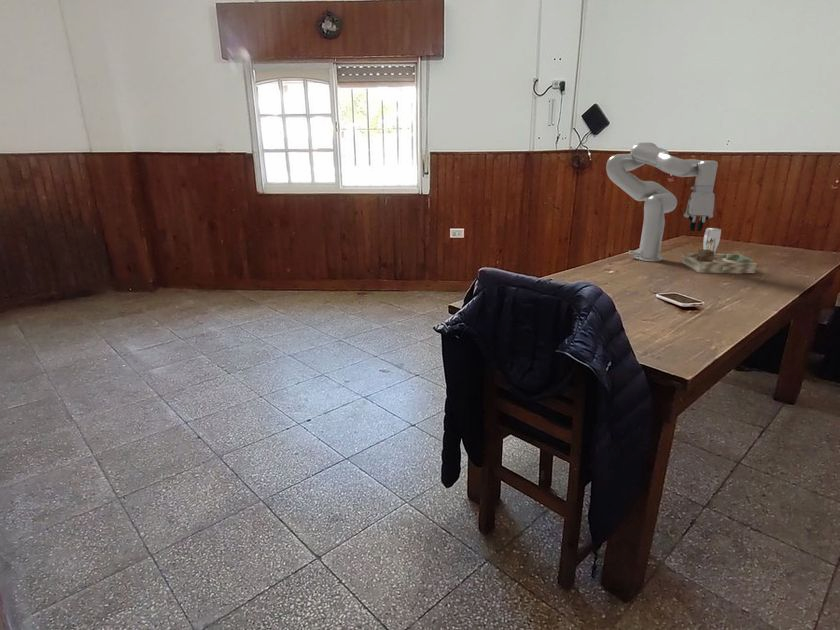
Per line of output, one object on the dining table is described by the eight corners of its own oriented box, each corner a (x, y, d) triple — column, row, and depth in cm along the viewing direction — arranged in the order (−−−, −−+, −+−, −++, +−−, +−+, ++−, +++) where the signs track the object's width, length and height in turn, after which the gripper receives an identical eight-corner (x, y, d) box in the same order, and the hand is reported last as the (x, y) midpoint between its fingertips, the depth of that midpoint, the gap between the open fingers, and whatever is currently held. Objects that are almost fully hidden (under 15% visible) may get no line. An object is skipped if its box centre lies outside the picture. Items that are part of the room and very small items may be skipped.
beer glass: (718, 260, 248) (724, 230, 243) (704, 260, 248) (710, 230, 243) (711, 257, 255) (717, 227, 250) (697, 257, 255) (702, 227, 250)
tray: (698, 272, 226) (700, 260, 224) (681, 262, 244) (683, 251, 242) (754, 273, 224) (757, 261, 222) (733, 263, 242) (736, 252, 240)
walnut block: (701, 262, 231) (703, 251, 230) (696, 259, 236) (698, 249, 234) (712, 262, 231) (714, 251, 229) (707, 260, 236) (709, 249, 234)
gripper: (687, 190, 220) (680, 231, 227) (726, 190, 219) (717, 232, 225) (681, 188, 227) (674, 229, 234) (718, 189, 226) (710, 229, 232)
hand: (695, 230), depth 229 cm, fingers closed
